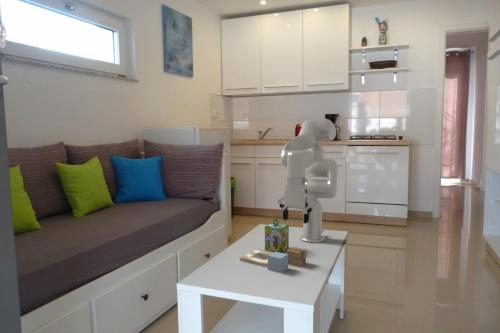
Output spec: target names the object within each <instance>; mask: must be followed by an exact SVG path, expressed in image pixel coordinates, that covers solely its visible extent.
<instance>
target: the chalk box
mask: <svg viewBox="0 0 500 333" xmlns="http://www.w3.org/2000/svg"><path fill="white" fill-rule="evenodd" d="M289 226H290V225H289V224H283V223H279V219H278V218H277V217H275V218H273V220H272V223H269V224H267V225H266V226H264V251H269V252H279V253H284V251H287V250H289V249H290V248H289V247H290V245H289V244H290V243H289V238H290V234H289V232H290V227H289Z"/></svg>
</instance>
